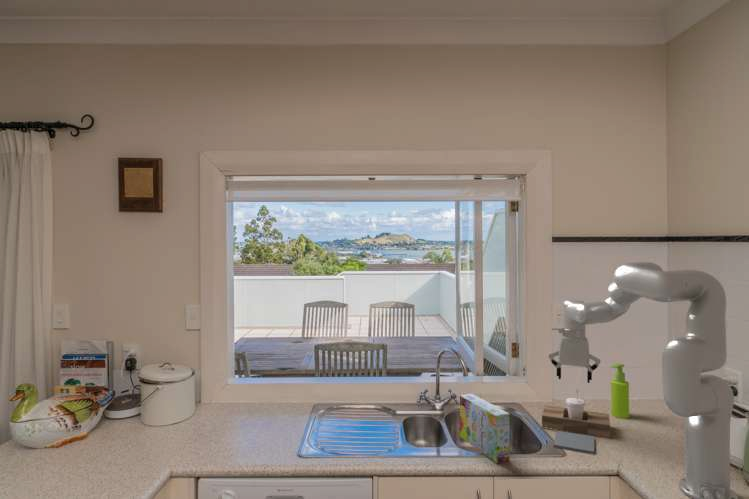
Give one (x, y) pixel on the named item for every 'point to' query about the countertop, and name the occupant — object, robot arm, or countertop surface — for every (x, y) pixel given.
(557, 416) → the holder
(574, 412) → the smoothie
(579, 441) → the mat
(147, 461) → the countertop surface
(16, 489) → the countertop surface
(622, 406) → the soap dispenser
